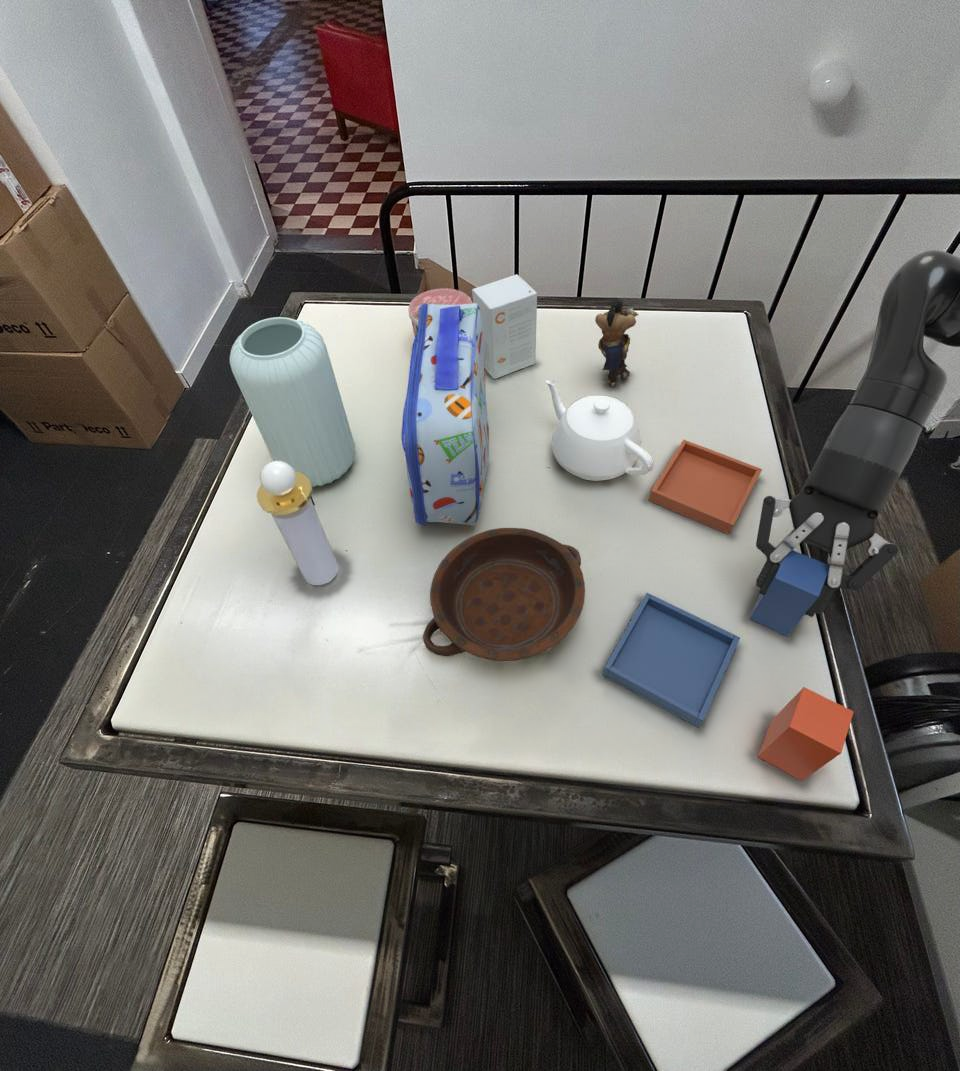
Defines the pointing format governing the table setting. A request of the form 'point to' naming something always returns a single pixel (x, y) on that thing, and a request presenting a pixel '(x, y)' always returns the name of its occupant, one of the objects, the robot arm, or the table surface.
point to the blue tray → (672, 658)
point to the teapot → (597, 438)
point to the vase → (294, 397)
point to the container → (436, 301)
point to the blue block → (790, 592)
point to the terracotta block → (806, 734)
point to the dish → (505, 595)
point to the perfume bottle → (297, 520)
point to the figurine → (615, 339)
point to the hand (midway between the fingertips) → (785, 603)
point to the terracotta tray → (705, 486)
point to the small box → (507, 324)
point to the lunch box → (446, 415)
